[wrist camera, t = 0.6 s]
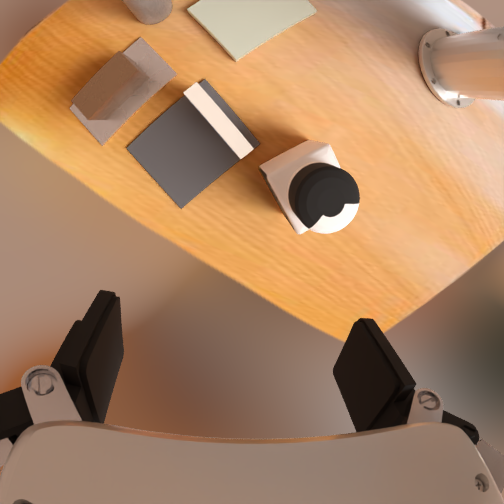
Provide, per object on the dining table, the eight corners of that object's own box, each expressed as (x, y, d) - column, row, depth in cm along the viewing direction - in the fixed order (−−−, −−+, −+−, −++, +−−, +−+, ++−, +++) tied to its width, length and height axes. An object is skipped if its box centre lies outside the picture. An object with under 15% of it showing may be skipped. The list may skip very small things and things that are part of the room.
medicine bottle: (256, 166, 34) (274, 186, 23) (309, 138, 34) (350, 146, 23) (284, 216, 37) (311, 256, 26) (333, 189, 36) (378, 218, 26)
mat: (205, 79, 30) (205, 79, 29) (259, 143, 33) (260, 143, 33) (127, 148, 32) (126, 148, 31) (181, 208, 35) (181, 208, 35)
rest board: (268, -34, 24) (269, -38, 22) (314, 14, 27) (317, 11, 26) (188, 12, 26) (187, 9, 25) (235, 62, 29) (236, 59, 28)
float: (142, 38, 27) (127, 23, 21) (178, 75, 29) (169, 65, 23) (72, 108, 29) (47, 107, 23) (104, 145, 31) (83, 150, 26)
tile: (201, 92, 30) (196, 81, 23) (246, 143, 33) (254, 149, 26) (190, 100, 30) (182, 93, 23) (235, 152, 33) (239, 160, 26)
